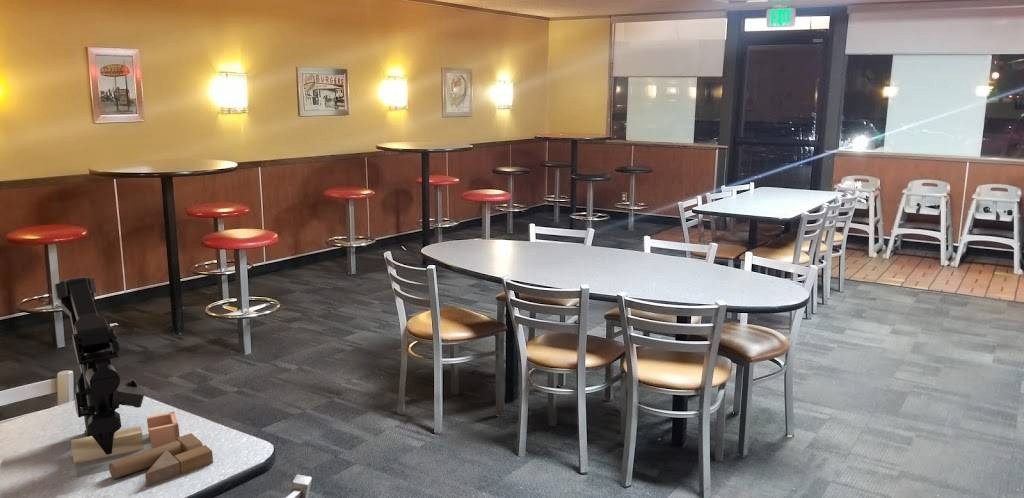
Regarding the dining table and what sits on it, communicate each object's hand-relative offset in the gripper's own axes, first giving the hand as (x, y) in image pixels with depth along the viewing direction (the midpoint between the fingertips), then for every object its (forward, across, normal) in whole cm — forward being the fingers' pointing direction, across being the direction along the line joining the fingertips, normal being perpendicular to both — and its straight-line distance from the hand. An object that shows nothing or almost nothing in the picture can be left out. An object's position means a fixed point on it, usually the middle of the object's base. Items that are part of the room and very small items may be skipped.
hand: (108, 445), depth 174 cm
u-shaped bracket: (+2, 0, -11) cm, 11 cm away
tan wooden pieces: (0, -12, -19) cm, 22 cm away
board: (+2, -2, -4) cm, 5 cm away
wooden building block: (+2, 0, 0) cm, 2 cm away
